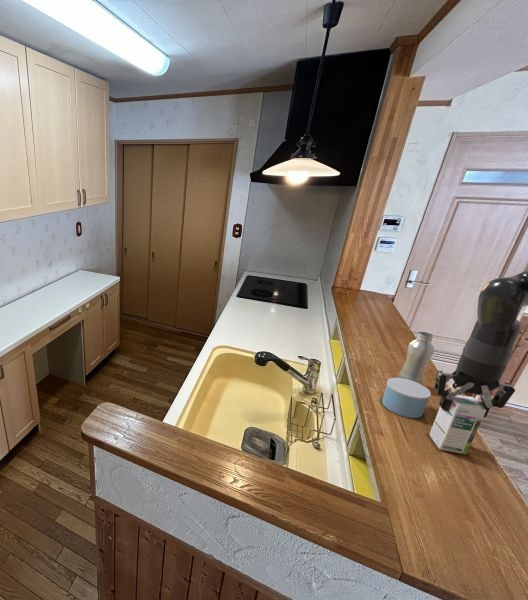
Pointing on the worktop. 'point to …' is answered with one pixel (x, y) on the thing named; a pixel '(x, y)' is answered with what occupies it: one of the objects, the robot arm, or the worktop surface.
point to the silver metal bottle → (417, 358)
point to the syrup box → (457, 424)
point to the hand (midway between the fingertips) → (460, 412)
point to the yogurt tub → (405, 397)
